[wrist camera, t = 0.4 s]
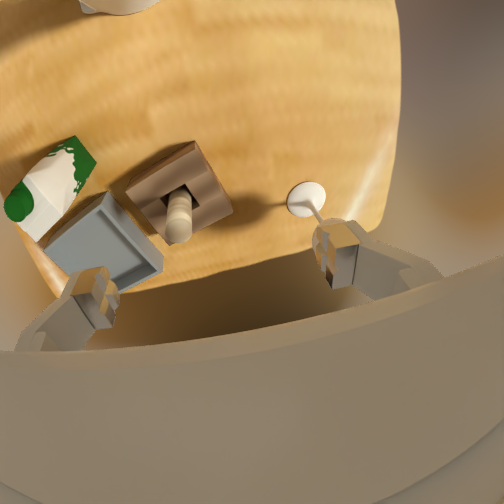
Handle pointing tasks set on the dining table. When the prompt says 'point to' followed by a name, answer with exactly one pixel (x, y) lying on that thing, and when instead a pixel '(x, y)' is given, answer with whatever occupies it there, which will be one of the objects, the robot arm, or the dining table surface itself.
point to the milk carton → (49, 188)
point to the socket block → (173, 176)
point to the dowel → (179, 215)
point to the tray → (105, 245)
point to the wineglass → (309, 205)
